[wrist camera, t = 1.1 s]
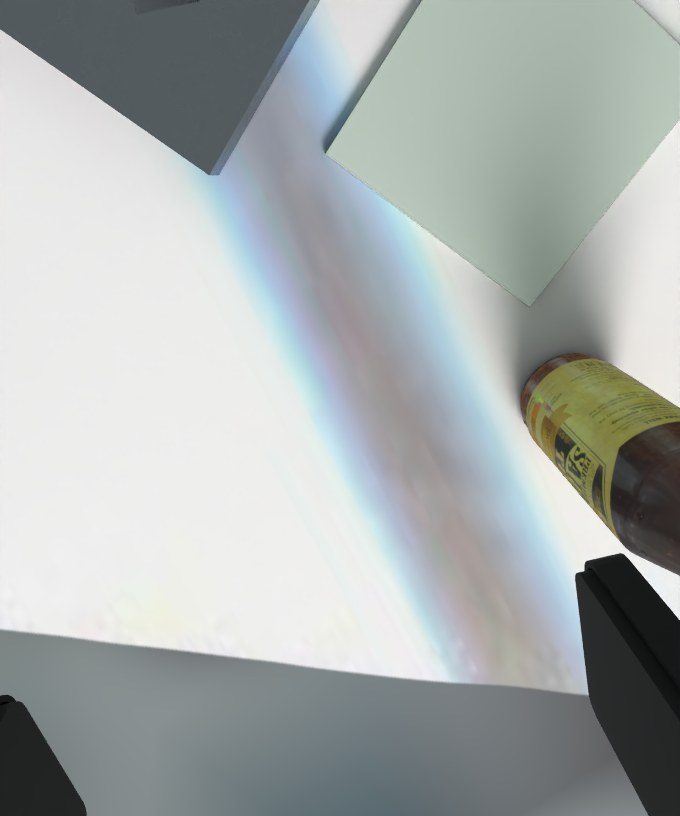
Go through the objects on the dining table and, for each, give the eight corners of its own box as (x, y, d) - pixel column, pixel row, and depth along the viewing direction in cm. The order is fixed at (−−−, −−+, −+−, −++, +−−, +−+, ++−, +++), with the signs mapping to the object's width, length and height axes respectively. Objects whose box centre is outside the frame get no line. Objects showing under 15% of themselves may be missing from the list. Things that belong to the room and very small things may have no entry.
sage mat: (498, -123, 27) (502, -128, 26) (706, 79, 30) (712, 77, 30) (325, 154, 31) (325, 154, 30) (526, 305, 34) (529, 306, 33)
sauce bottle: (495, 394, 36) (691, 625, 17) (582, 327, 35) (893, 500, 16) (553, 465, 38) (785, 741, 19) (637, 405, 37) (970, 639, 18)
